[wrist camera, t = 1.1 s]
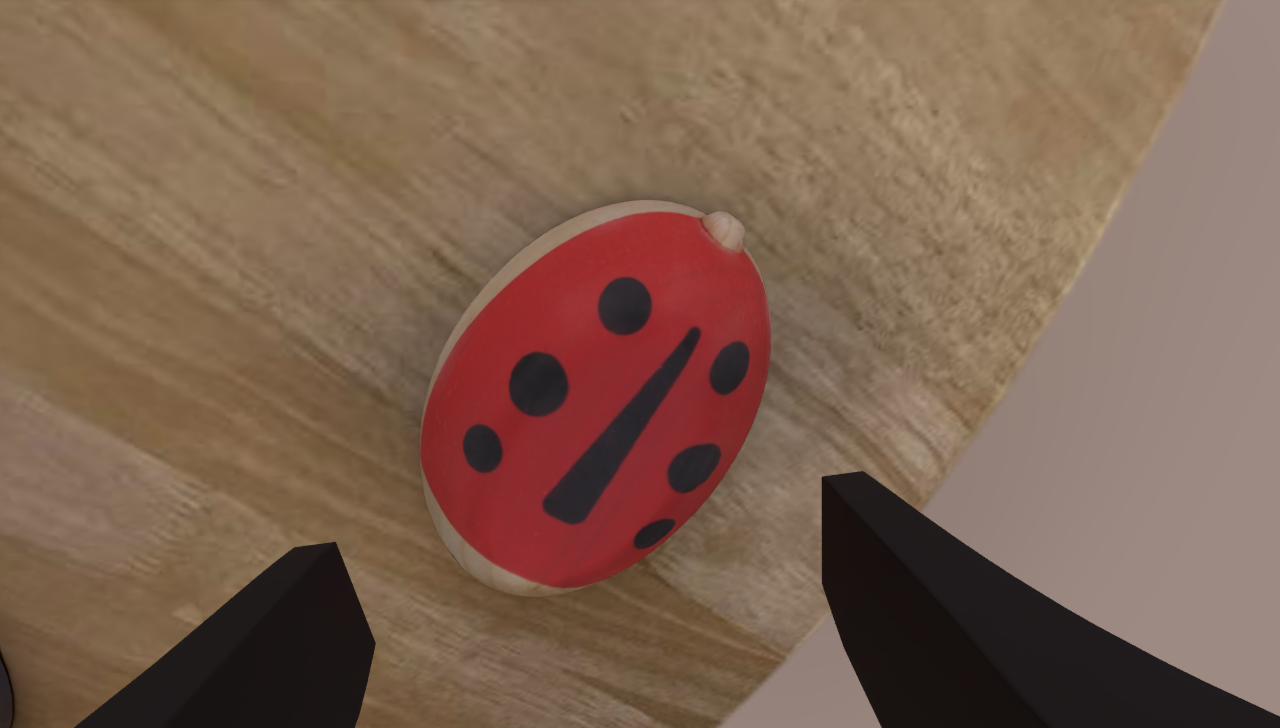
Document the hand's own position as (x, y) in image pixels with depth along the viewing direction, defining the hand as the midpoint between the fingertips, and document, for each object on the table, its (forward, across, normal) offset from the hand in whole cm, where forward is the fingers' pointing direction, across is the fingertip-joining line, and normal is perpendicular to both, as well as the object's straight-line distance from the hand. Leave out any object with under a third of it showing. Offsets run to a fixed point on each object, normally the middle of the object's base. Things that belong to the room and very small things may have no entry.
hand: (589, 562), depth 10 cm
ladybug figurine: (+6, 0, 0) cm, 6 cm away
